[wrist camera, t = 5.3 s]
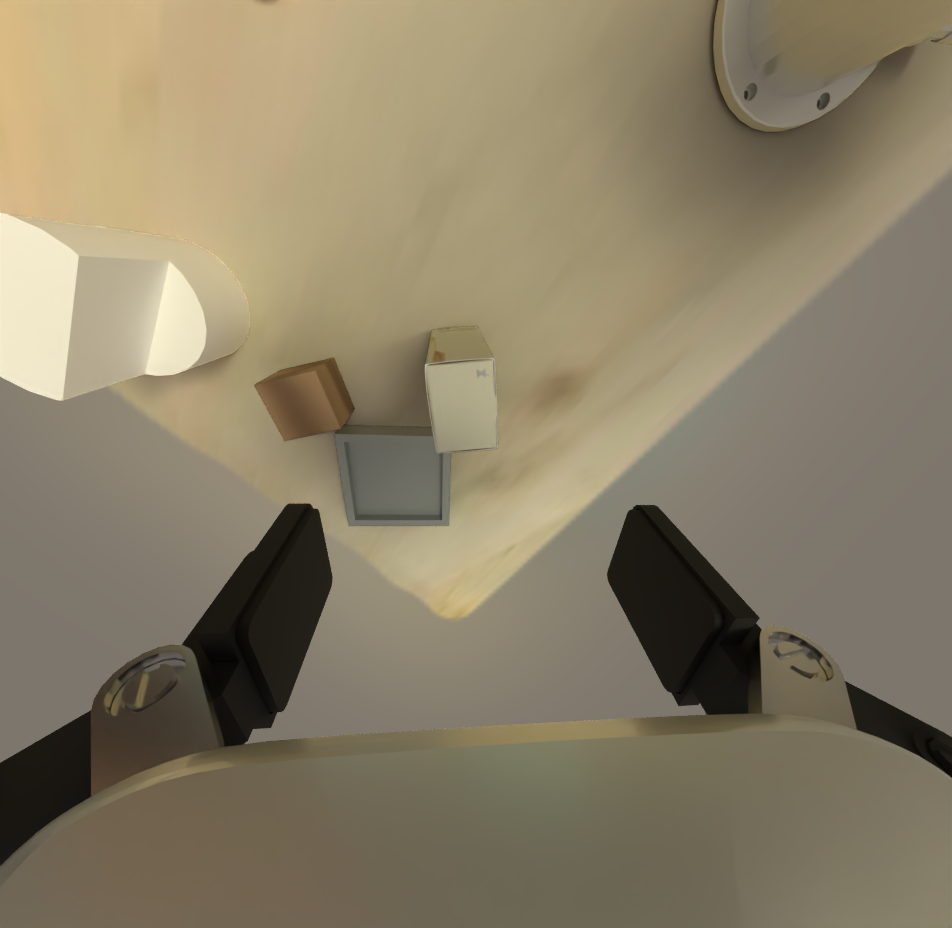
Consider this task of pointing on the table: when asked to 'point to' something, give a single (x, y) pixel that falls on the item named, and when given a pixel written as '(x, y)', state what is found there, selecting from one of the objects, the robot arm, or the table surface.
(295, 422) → the walnut block
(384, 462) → the slate tray
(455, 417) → the skincare box
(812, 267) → the table surface
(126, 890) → the robot arm
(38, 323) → the base with upright slab
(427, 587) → the table surface
